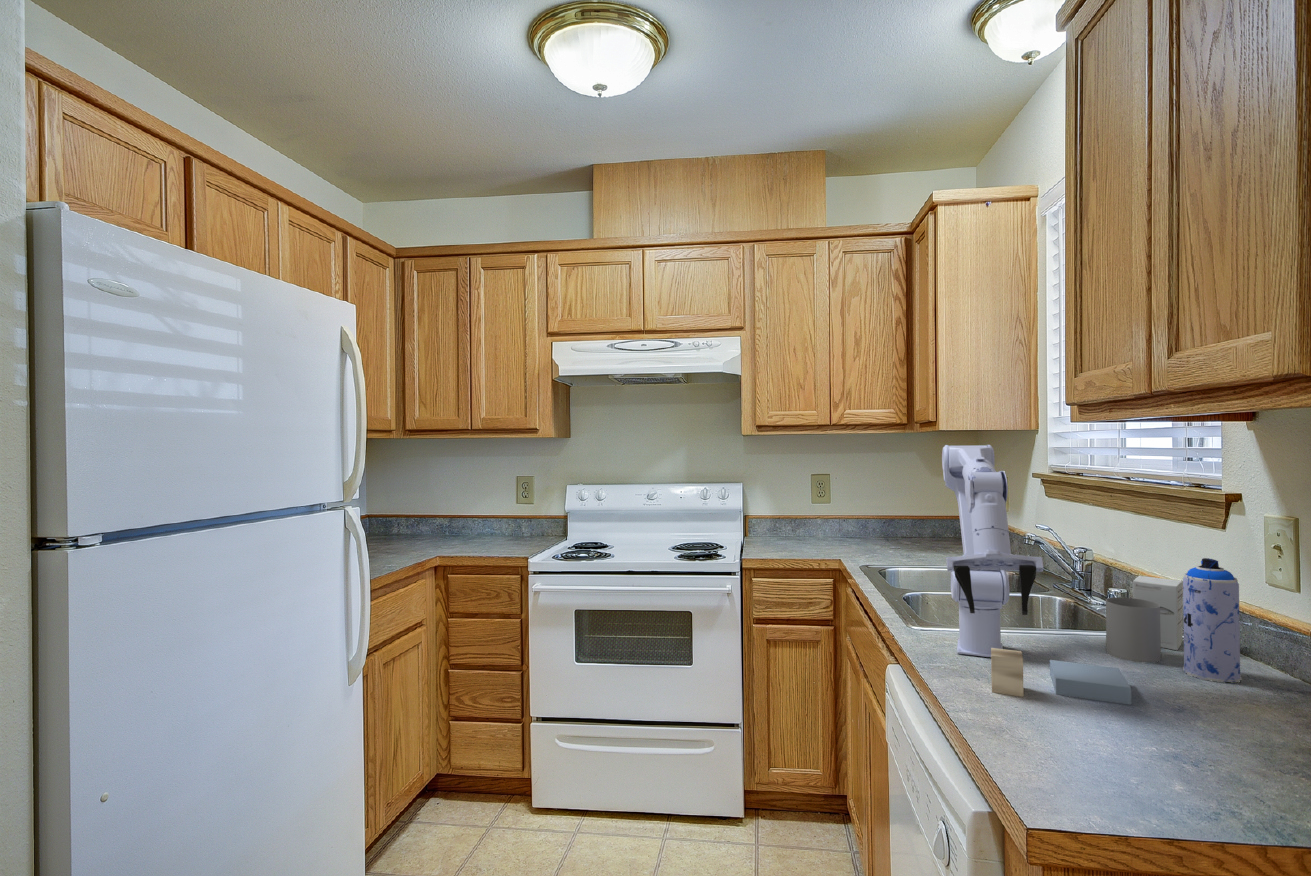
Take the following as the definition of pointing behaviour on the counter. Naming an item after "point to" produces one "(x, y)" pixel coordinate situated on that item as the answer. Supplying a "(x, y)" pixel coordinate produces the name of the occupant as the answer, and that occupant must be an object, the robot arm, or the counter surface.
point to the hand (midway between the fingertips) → (998, 612)
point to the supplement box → (1164, 606)
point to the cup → (1133, 629)
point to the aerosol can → (1211, 623)
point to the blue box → (1090, 682)
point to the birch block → (1007, 671)
